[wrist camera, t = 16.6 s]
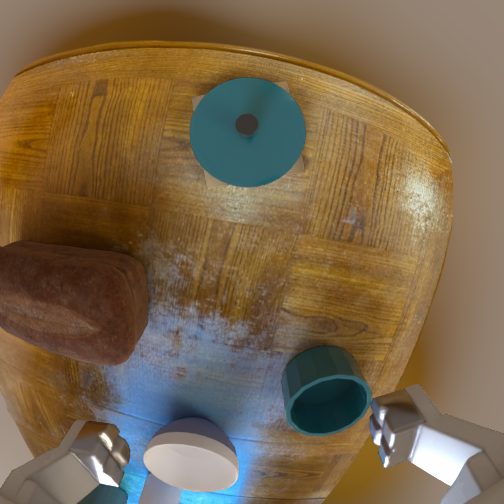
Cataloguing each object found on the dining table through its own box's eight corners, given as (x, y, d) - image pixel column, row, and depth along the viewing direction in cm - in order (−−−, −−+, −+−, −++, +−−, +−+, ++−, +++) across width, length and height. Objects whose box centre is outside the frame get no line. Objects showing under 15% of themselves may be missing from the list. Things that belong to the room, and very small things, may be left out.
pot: (357, 338, 41) (373, 365, 34) (356, 396, 44) (368, 425, 37) (276, 354, 42) (280, 385, 35) (286, 410, 45) (290, 442, 37)
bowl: (149, 439, 47) (137, 473, 38) (166, 391, 44) (151, 430, 35) (223, 463, 49) (220, 499, 39) (254, 420, 45) (254, 461, 36)
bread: (157, 338, 41) (129, 387, 30) (22, 306, 41) (-19, 334, 29) (156, 248, 38) (118, 276, 26) (13, 232, 38) (-36, 248, 26)
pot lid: (292, 74, 31) (297, 60, 27) (312, 177, 34) (321, 177, 30) (184, 92, 32) (174, 81, 27) (202, 196, 35) (194, 198, 31)
